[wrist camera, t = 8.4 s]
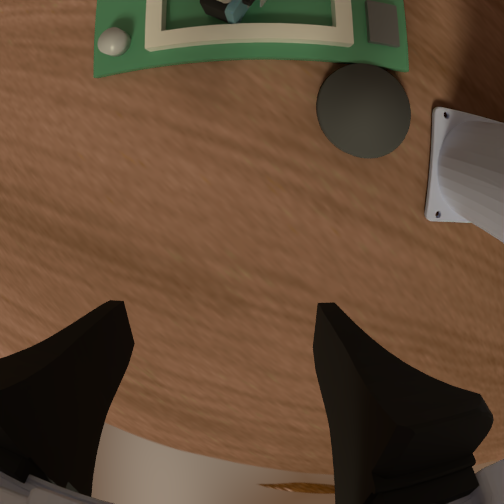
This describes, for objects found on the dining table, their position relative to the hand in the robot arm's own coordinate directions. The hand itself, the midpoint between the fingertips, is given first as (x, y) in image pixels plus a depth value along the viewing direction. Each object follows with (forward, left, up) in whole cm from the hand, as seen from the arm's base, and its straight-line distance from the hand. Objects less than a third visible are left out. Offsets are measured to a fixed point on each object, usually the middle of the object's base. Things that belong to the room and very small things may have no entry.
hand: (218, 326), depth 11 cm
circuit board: (-1, -18, -10) cm, 21 cm away
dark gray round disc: (-8, -8, -11) cm, 16 cm away
